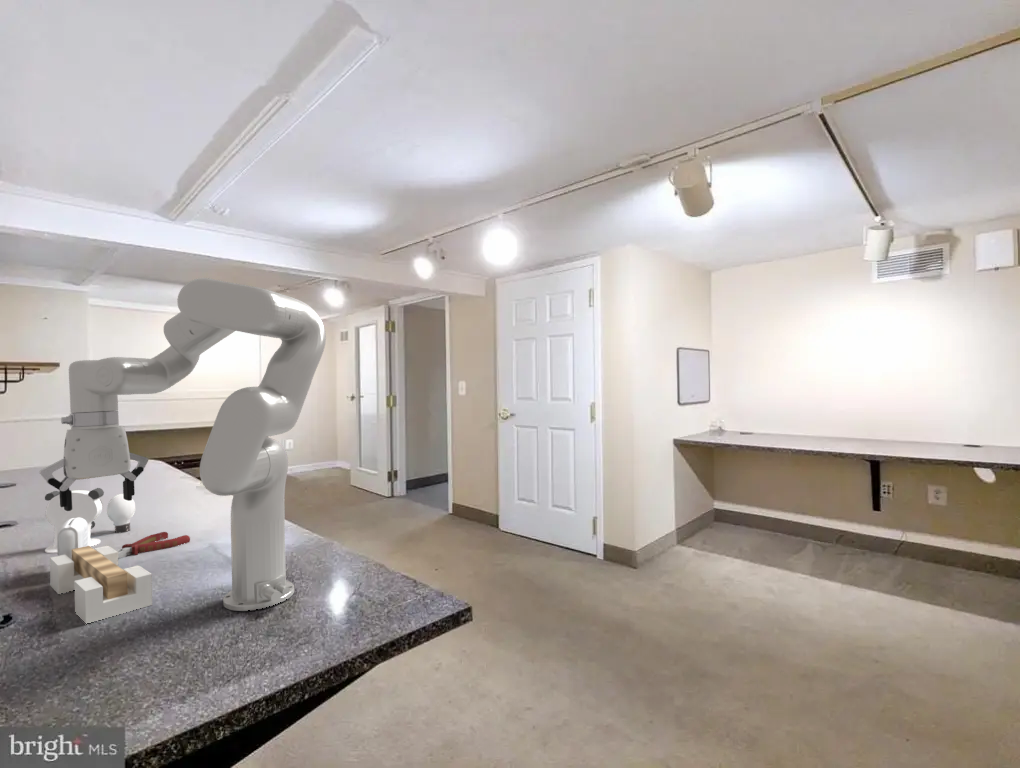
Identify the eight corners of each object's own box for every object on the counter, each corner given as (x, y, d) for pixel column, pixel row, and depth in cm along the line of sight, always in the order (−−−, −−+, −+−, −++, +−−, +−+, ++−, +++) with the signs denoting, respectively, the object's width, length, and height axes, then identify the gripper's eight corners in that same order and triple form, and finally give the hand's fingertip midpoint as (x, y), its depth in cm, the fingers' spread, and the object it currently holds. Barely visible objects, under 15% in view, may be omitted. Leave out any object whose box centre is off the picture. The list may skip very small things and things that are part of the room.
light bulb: (140, 529, 151) (139, 492, 151) (113, 535, 145) (112, 497, 145) (130, 526, 154) (129, 490, 154) (103, 532, 149) (102, 495, 149)
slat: (127, 594, 95) (127, 572, 95) (108, 599, 93) (107, 577, 93) (89, 563, 113) (89, 545, 113) (71, 567, 110) (71, 549, 110)
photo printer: (67, 567, 119) (66, 515, 119) (91, 564, 121) (90, 512, 121) (55, 582, 110) (53, 525, 110) (80, 578, 112) (79, 522, 112)
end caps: (152, 604, 97) (151, 573, 97) (85, 624, 89) (85, 591, 89) (108, 571, 116) (107, 545, 116) (50, 585, 108) (49, 557, 108)
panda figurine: (110, 537, 143) (109, 484, 143) (93, 549, 133) (92, 492, 133) (57, 543, 139) (56, 488, 139) (35, 555, 129) (34, 497, 129)
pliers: (81, 563, 124) (81, 552, 124) (165, 539, 142) (165, 530, 142) (109, 569, 119) (109, 558, 119) (192, 543, 138) (192, 534, 138)
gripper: (41, 425, 94) (45, 517, 94) (151, 417, 107) (155, 498, 107) (34, 424, 98) (37, 512, 98) (140, 417, 112) (143, 494, 112)
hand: (99, 504), depth 103 cm, fingers open, 9 cm apart
